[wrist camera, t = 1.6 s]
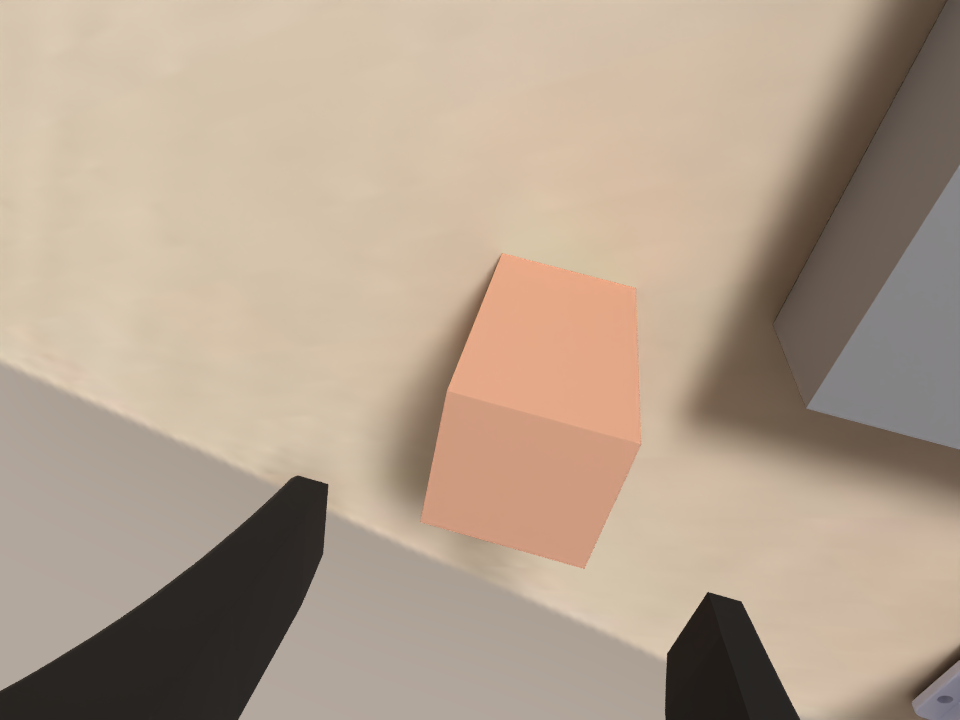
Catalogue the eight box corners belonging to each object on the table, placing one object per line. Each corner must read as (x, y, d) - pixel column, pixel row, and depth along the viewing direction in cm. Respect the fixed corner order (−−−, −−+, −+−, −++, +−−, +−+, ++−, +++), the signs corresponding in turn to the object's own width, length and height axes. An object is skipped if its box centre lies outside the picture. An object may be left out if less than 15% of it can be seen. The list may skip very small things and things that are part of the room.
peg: (595, 394, 21) (584, 568, 15) (476, 362, 21) (420, 521, 15) (635, 288, 18) (641, 443, 13) (502, 253, 18) (447, 390, 13)
